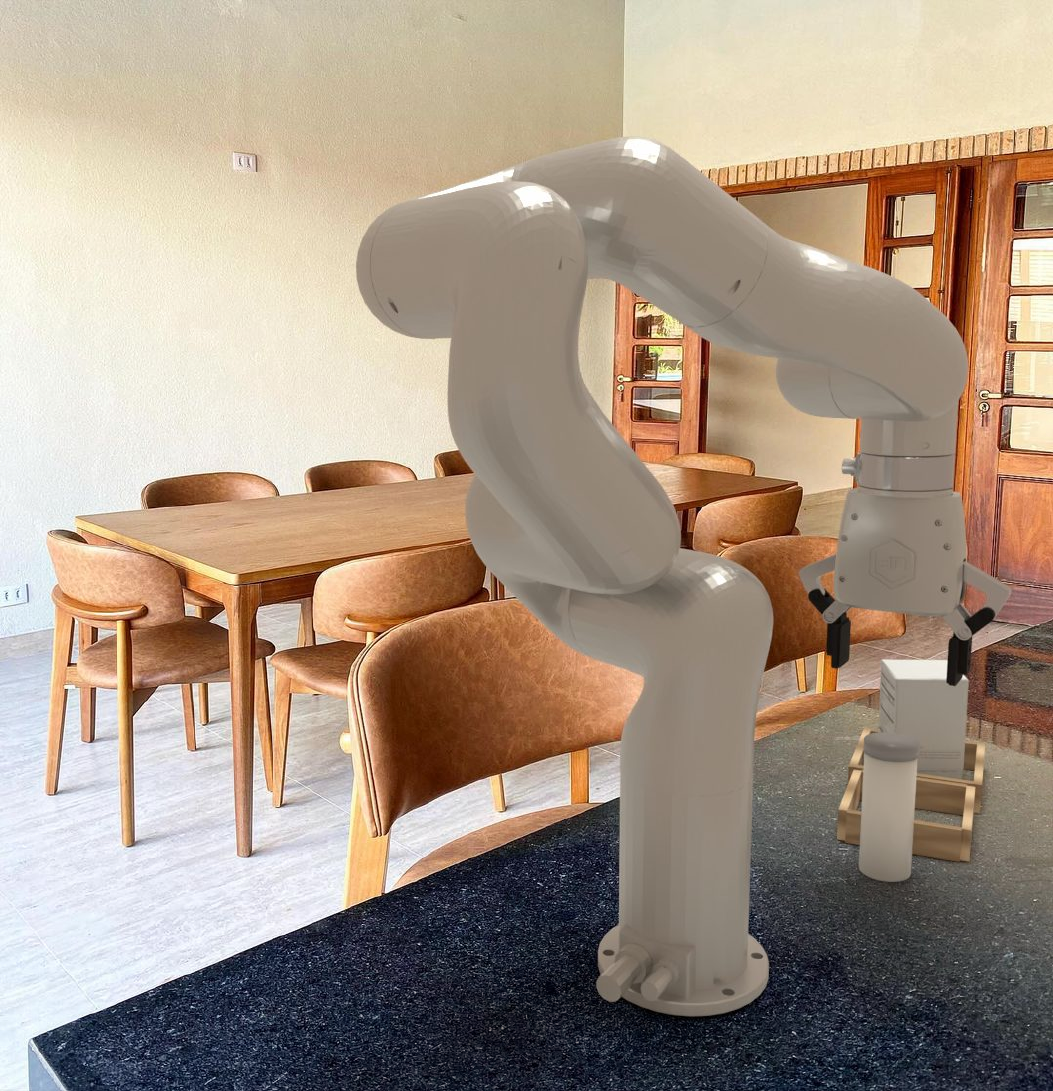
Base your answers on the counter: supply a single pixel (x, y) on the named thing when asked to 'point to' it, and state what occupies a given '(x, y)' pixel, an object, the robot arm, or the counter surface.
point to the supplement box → (926, 712)
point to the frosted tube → (888, 806)
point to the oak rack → (924, 805)
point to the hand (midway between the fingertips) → (895, 672)
